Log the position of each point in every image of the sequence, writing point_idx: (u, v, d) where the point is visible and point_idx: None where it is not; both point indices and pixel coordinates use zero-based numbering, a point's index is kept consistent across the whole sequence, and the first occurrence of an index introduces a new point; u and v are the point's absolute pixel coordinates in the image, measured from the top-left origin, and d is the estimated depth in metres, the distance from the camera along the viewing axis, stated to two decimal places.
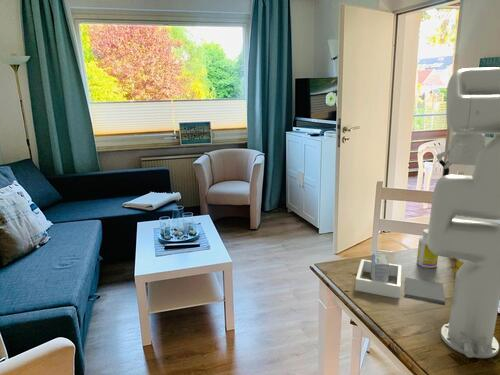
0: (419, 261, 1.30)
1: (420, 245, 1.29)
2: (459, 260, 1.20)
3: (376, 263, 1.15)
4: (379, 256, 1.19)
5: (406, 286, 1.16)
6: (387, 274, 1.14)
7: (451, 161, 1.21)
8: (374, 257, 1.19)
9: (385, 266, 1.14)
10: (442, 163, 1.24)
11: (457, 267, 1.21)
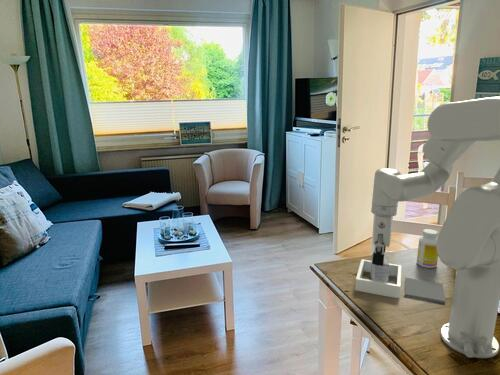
0: (419, 261, 1.30)
1: (420, 245, 1.29)
2: None
3: None
4: None
5: (406, 286, 1.16)
6: (387, 274, 1.14)
7: (389, 245, 1.12)
8: None
9: (385, 266, 1.14)
10: (381, 251, 1.10)
11: None
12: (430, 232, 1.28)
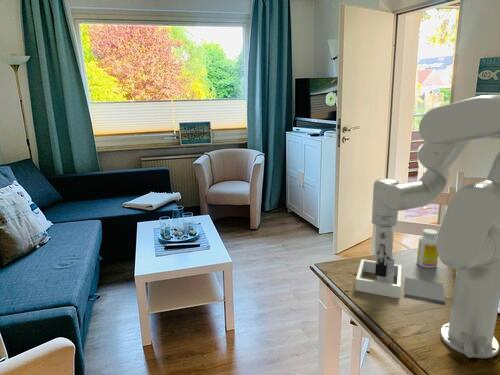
0: (419, 261, 1.30)
1: (420, 245, 1.29)
2: None
3: None
4: None
5: (406, 286, 1.16)
6: (392, 269, 1.13)
7: (391, 255, 1.11)
8: None
9: (390, 261, 1.12)
10: (384, 261, 1.10)
11: None
12: (430, 232, 1.28)
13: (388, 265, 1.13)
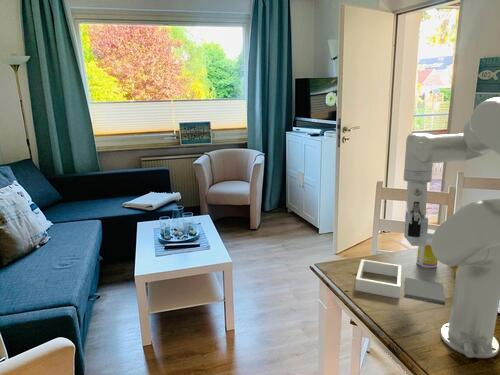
0: (419, 261, 1.30)
1: None
2: None
3: None
4: None
5: (406, 286, 1.16)
6: (426, 229, 1.06)
7: (425, 214, 1.05)
8: None
9: (424, 220, 1.06)
10: (418, 220, 1.04)
11: (457, 267, 1.21)
12: (430, 232, 1.28)
13: (421, 225, 1.06)
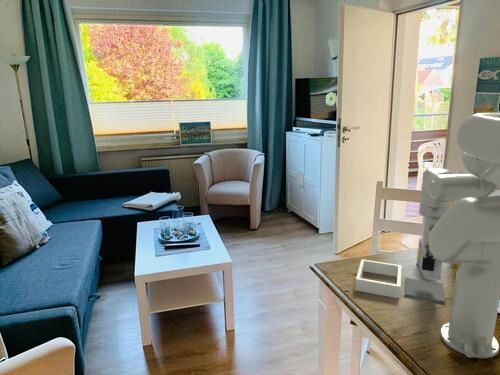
0: None
1: None
2: None
3: None
4: None
5: (406, 286, 1.16)
6: (440, 263, 1.07)
7: None
8: None
9: None
10: (433, 255, 1.05)
11: (457, 267, 1.21)
12: None
13: (436, 259, 1.07)
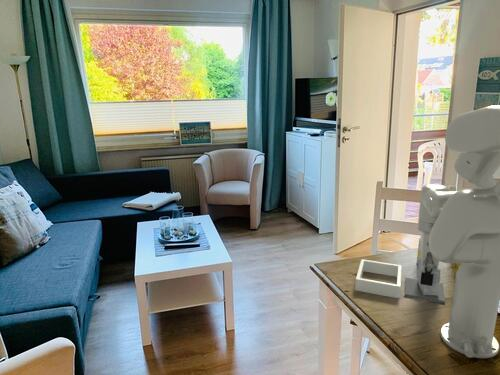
0: None
1: None
2: None
3: None
4: None
5: (406, 286, 1.16)
6: (438, 280, 1.09)
7: (438, 264, 1.07)
8: None
9: (436, 271, 1.08)
10: (431, 270, 1.06)
11: (457, 267, 1.21)
12: None
13: (434, 276, 1.08)
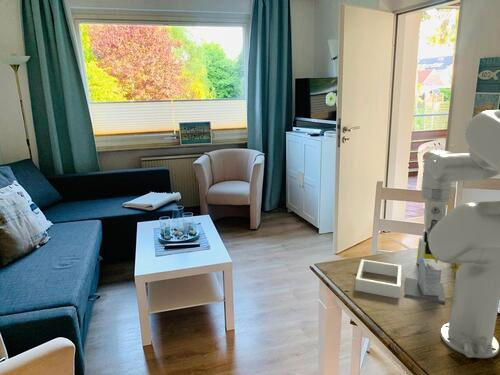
0: (419, 261, 1.30)
1: (420, 245, 1.29)
2: None
3: (427, 268, 1.09)
4: (429, 261, 1.13)
5: (406, 286, 1.16)
6: (439, 280, 1.09)
7: None
8: (423, 262, 1.13)
9: (437, 271, 1.08)
10: None
11: (457, 267, 1.21)
12: None
13: (434, 276, 1.08)
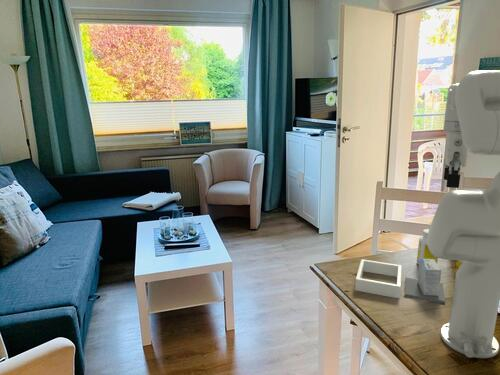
0: (419, 261, 1.30)
1: (420, 245, 1.29)
2: (459, 260, 1.20)
3: (427, 268, 1.09)
4: (429, 261, 1.13)
5: (406, 286, 1.16)
6: (439, 280, 1.09)
7: (465, 164, 1.05)
8: (423, 262, 1.13)
9: (437, 271, 1.08)
10: (458, 170, 1.04)
11: (457, 267, 1.21)
12: None
13: (434, 276, 1.08)
